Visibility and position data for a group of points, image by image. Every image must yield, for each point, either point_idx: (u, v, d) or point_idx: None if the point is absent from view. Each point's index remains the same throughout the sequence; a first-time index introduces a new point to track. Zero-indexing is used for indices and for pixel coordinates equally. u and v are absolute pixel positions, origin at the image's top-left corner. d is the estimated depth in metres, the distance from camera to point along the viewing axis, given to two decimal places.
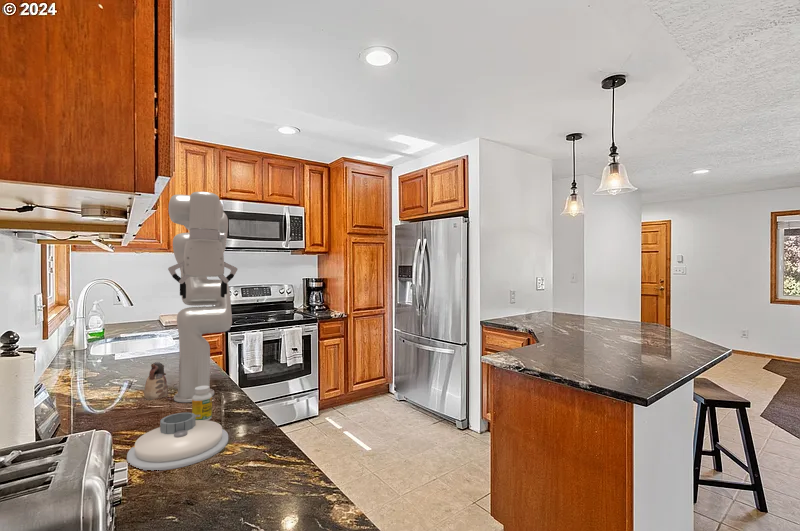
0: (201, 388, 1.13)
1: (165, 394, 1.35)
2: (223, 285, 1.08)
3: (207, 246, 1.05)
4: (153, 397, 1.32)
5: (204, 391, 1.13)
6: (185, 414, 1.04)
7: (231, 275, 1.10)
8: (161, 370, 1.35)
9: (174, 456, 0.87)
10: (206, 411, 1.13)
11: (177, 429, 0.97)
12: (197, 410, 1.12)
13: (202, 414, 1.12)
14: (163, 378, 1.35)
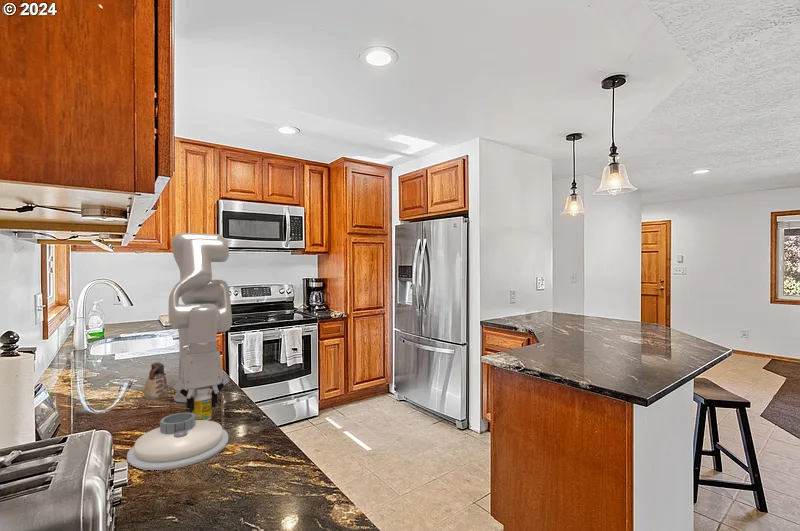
0: (201, 388, 1.13)
1: (165, 394, 1.35)
2: None
3: None
4: (153, 397, 1.32)
5: (204, 391, 1.13)
6: (185, 414, 1.04)
7: None
8: (161, 370, 1.35)
9: (174, 456, 0.87)
10: (206, 411, 1.13)
11: (177, 429, 0.97)
12: (197, 410, 1.12)
13: (202, 414, 1.12)
14: (163, 378, 1.35)
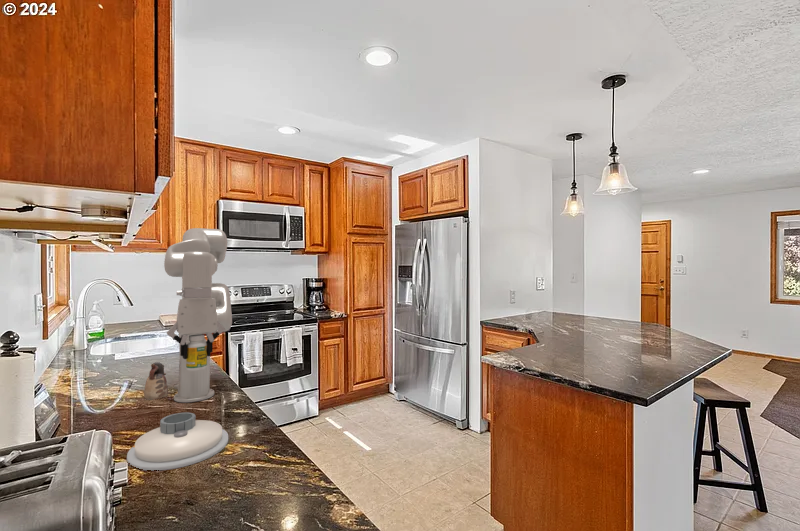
0: (196, 335, 1.09)
1: (165, 394, 1.35)
2: None
3: None
4: (153, 397, 1.32)
5: (198, 338, 1.09)
6: (185, 414, 1.04)
7: None
8: (161, 370, 1.35)
9: (174, 456, 0.87)
10: (201, 359, 1.09)
11: (177, 429, 0.97)
12: (191, 357, 1.08)
13: (197, 362, 1.08)
14: (163, 378, 1.35)
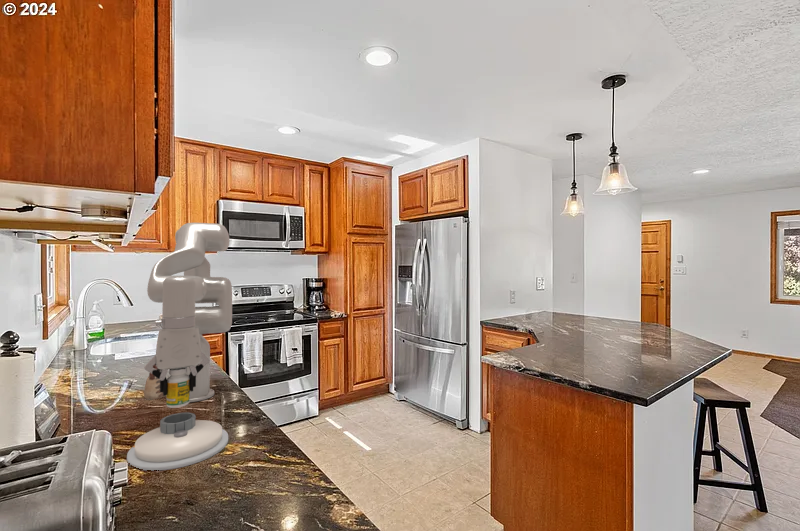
0: (177, 369, 0.99)
1: None
2: None
3: None
4: (153, 397, 1.32)
5: (180, 372, 0.99)
6: (185, 414, 1.04)
7: None
8: None
9: (174, 456, 0.87)
10: (182, 395, 0.99)
11: (177, 429, 0.97)
12: (171, 394, 0.98)
13: (177, 398, 0.98)
14: None
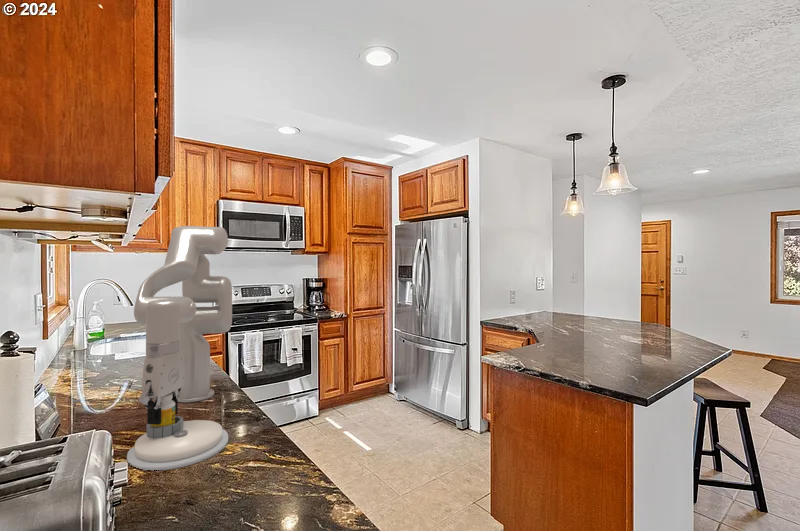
0: (167, 395, 0.97)
1: None
2: None
3: None
4: None
5: (171, 397, 0.98)
6: None
7: None
8: None
9: (200, 449, 0.91)
10: (174, 419, 0.98)
11: (174, 430, 0.96)
12: (165, 420, 0.96)
13: (171, 423, 0.97)
14: None
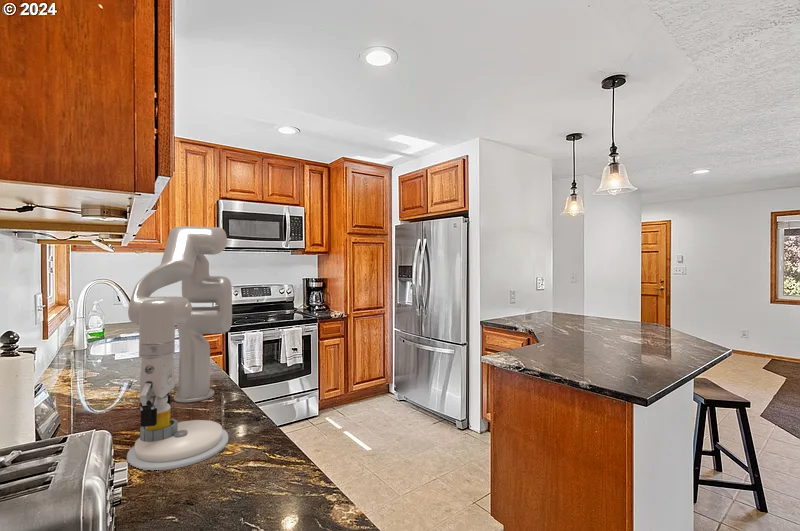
0: (164, 397, 0.96)
1: None
2: None
3: None
4: None
5: (167, 399, 0.96)
6: None
7: None
8: None
9: (212, 444, 0.94)
10: None
11: (173, 431, 0.96)
12: (164, 423, 0.95)
13: (169, 425, 0.96)
14: None
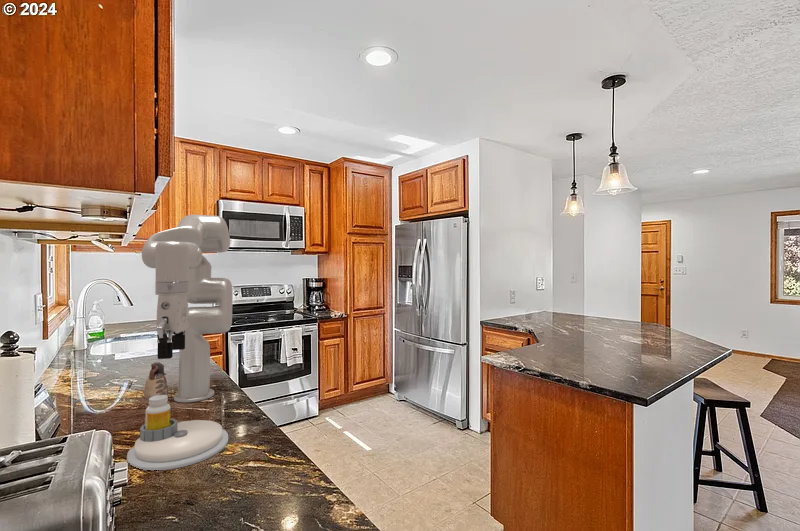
0: (164, 397, 0.96)
1: (165, 394, 1.35)
2: None
3: None
4: None
5: (167, 399, 0.96)
6: None
7: None
8: (161, 370, 1.35)
9: (212, 444, 0.94)
10: None
11: (173, 431, 0.96)
12: (164, 423, 0.95)
13: (169, 425, 0.96)
14: (163, 378, 1.35)
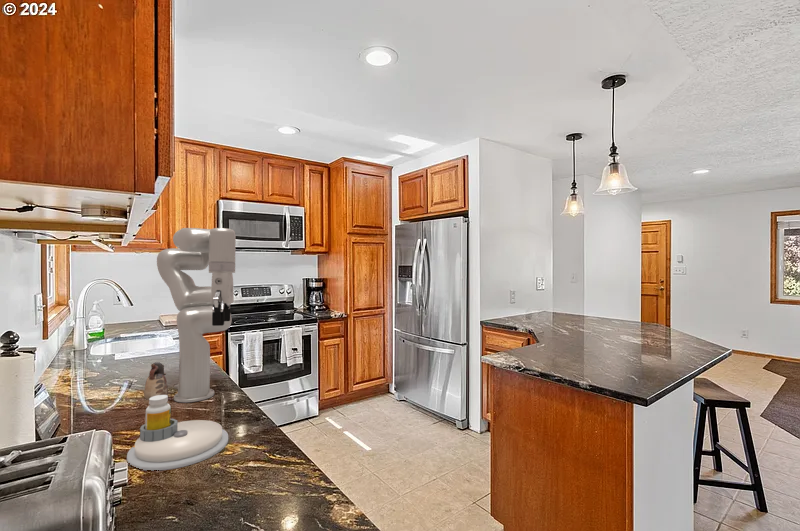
0: (164, 397, 0.96)
1: (165, 394, 1.35)
2: None
3: None
4: None
5: (167, 399, 0.96)
6: None
7: None
8: (161, 370, 1.35)
9: (212, 444, 0.94)
10: None
11: (173, 431, 0.96)
12: (164, 423, 0.95)
13: (169, 425, 0.96)
14: (163, 378, 1.35)
